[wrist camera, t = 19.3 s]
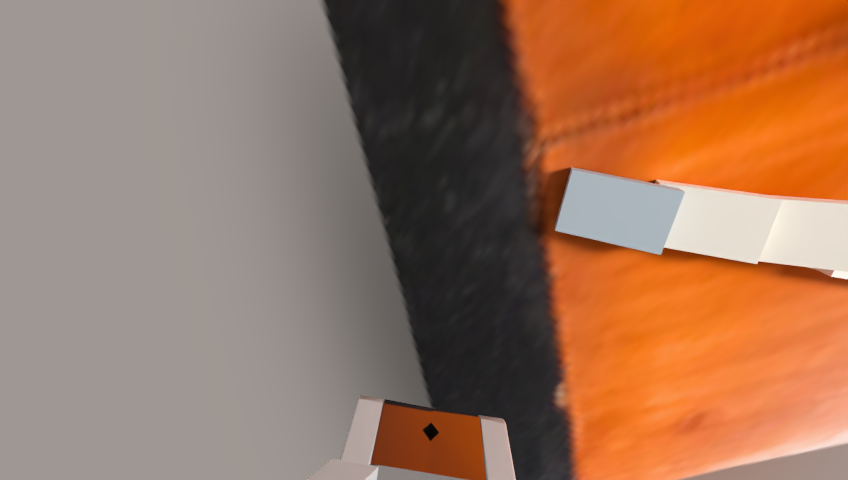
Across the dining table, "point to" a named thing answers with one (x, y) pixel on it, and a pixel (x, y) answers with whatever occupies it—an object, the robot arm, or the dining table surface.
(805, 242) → the domino
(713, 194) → the domino
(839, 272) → the domino
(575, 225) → the domino
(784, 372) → the dining table surface
